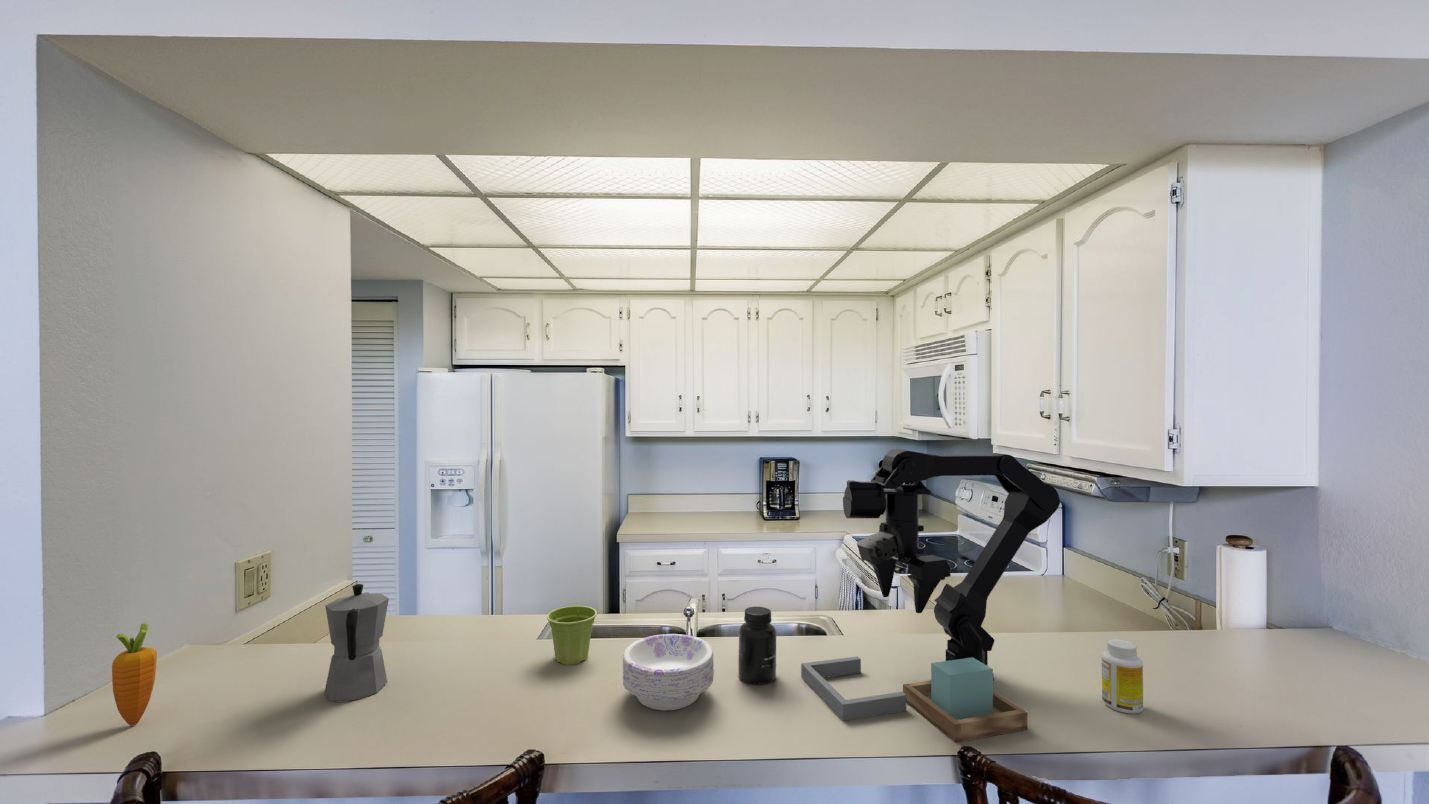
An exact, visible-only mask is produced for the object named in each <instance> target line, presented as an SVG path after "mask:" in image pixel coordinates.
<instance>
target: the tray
mask: <svg viewBox="0 0 1429 804" xmlns="http://www.w3.org/2000/svg"><path fill="white" fill-rule="evenodd" d="M902 692H903V693H904V694H906V705H908V706H910V708H911V709H913V710H914V711H916V712H917V713H919V715H921V716H922V717H923V718H924V719H925V720H927V721H928V722H929V723H930V724H932V725H933V726H934V727H935V728H936V729H938V730H939V731H940V732H942V733H943V734H944V735H945V736H947V737H948V738H949V739H950V740H951V741H952V742H954V743H961V742H966V741H971V740H976V739H981V738H987V737H993V736H998V735H1005V734H1010V733H1016V732H1021V731H1027V730H1028V729H1029V728H1028V725H1029V724H1028V723H1029V721H1028V720H1029V715H1028V713H1029V712H1028V711H1026V709H1024V708H1021V707H1020V706H1018V704H1015V703H1014V702H1012V700H1009V699H1007V698H1005V697H1004V696H1002V695H1001V694H1000V693H998V692H996V691H995V690H993V714H989V715H983V716H977V717H971V718H965V719H959V720H955V719H954V718H953V717H952V716H950V715H949V714H948V713H946V712H945V711H944V710H942V709H941V708H940V707H938V706H937V705H936V704H934V703H933V702H932V701H931V679H930V680H924V681H916V682H910V683H904V684H902Z"/></svg>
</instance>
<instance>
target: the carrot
mask: <svg viewBox="0 0 1429 804" xmlns="http://www.w3.org/2000/svg"><path fill="white" fill-rule="evenodd" d="M148 627H149V624H148V623H146V622H144V623H143V622H142V623H141V624H140V628H139V631H138V633H137V635H136V637H135V638H134V637H130V638H128V637H127V636H126V634H124V633H118V634H117V635H116V638H117V639H118V640H119V641H120V642H121V643H122V645H123V646H124V648H126V650H125V651H122V652H120V653H119V654H118V655H117V656H116V657H115V658H114V659H113V661H112V665H111V676H112V677H111V679H112V680H111V681H112V693H113V697H114V702H115V705H116V708H117V711H118V713H119V715H120V716H121V718H122V719H123V720H124V721H125V722H126V723H127V725H129V726H131V725H135V726H136V725H137V724H138V723H139V722H140V720H141V719H142V717H143V715H144V713H145V711H146V709H147V707H148V705H149V702H150V701H151V697H152V694H153V693H152V692H153V690H154V685H155V680H156V671H157V655H158V653H157V650H156V649H155V648H153V647H146V646H143V643H144V640H145V637H146V636H147V632H148V629H149V628H148Z"/></svg>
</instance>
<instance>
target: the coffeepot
mask: <svg viewBox="0 0 1429 804" xmlns="http://www.w3.org/2000/svg"><path fill="white" fill-rule="evenodd" d="M363 588H364V584H362V583H357V584H354V585H352V592H353V594H351V595H348V596H343V597H340V598H337V599H335V600H333V601H331V602H329V603H327V604H325V606H324V607H325V612H326V618H327V619H326V620H327V625H328V630H329V637H330V643H331V644H332V646H333V654H332V656H331V659H330V663H329V668H328V669H329V670H328V672H327V673H328V674H327V679H326V684H325V688H324V695H325V697H326V698H327V699H328V700H329V701H331V702H332V701H333V702H337V703H338V702H339V703H340V702H342V703H343V702H352V701H359V700H362V699H364V698H368V697H370V696H372V695H375V694H377V693H379V692H380V691H381V690H383V689H384V687H385V686H386V684H387V683H388V678H387V673H386V667H385V661H384V656H383V650H382V648H381V646H380V639H381V638H382V636H383V634H384V629H385V623H386V616H387V611H388V606H389V602H390V601H389V599H390V598H389V597H387V596H386V595H385V594H383V593H370V592H363V590H364V589H363Z"/></svg>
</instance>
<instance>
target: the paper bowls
mask: <svg viewBox="0 0 1429 804" xmlns="http://www.w3.org/2000/svg"><path fill="white" fill-rule="evenodd" d="M714 671H715V670H714V650H713V647H712V646H711V644H709V642H707V641H706V640H703V639H702V638H700V637H696V636H694V635H690V634H689V635H688V634H680V633H679V634H678V633H664V634H656V635H655V634H654V635H649V636H646V637H643V638H640V639H637V640H636V641H634V642H632V643H631V644H629V645H628V646H627V647H626V648H625V650H624V651H623V654H622V685H623V687H624V689H625V690H626V691H628V692H629V694H631V695H633V696H636V698H637V700H638V702H640V704H641V705H643V706H645V707H647V708H649V709H652V710H656V711H665V712H666V711H675V710H676V711H677V710H680V709H684V708H686V707H688V706H690V705H692V704H694V703H695V702H696V701H697V700H698V698H699V697H700V695H701V694H702V693H703V692H705V691H706V690H708V689H709V688H710V687H711V686H712V684H713V682H714Z"/></svg>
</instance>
